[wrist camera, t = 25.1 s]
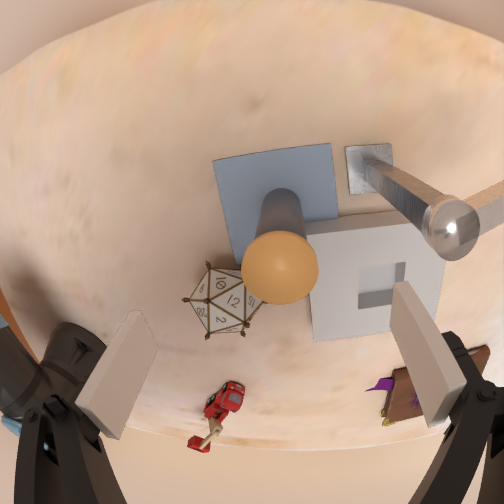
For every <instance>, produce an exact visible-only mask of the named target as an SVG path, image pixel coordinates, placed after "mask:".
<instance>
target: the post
mask: <svg viewBox="0 0 504 504" xmlns="http://www.w3.org/2000/svg"><path fill="white" fill-rule="evenodd" d="M345 155H346V164H347V173H348V184H349V193H350V195H353V194H362V193H373V192H378V193H379V194H381V195H382V196H383V197H384V198H385V199H386V200H387V201H388V202H390V203H391V204H392V205H393V206H394V207H395V208H396V209H397V210H398V211H399V212H400V213H402V214H403V215H404V216H405V217H406V218H407V219H408V220H409V221H410V222H411V223H412V224H413V225H414V226H415V227H416V228H417V229H418V230H419V231H420V232H421V233H422V228H421V225H422V218H423V215H424V213H425V211H426V209H427V207H428V206H429V204H430V203H431V202H432V201H433V200H435V199H436V198H438V197H439V196H442V195H444V194H443V193H441V192H439V191H438V190H436V189H434V188H433V187H431V186H429V185H427V184H426V183H424V182H422V181H420V180H419V179H417V178H415V177H413V176H411V175H409V174H408V173H406V172H404V171H402V170H400V169H398V168H396V167H394V166H393V158H392V146H391V144H374V145H359V146H347V147H345Z"/></svg>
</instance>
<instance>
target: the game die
mask: <svg viewBox="0 0 504 504" xmlns="http://www.w3.org/2000/svg"><path fill="white" fill-rule="evenodd" d="M206 266H207V268H208V271H207V272H206V274H205V275H204V277H203V278H202V280H201V281H200V283H199V284H198V286H197V288H196V289H195V291H194V292H193V294H192V295H191V297H190V298H183V299H182V301H184V302H190V304H191V305H192V307H193V309H194V310H195V312H196V314H197V315H198V317H199V319H200V320H201V322H202V324H203V325H204V327H205V328H206V330H207V332H208V333H207V334H206V335H205V340H207V339H209V337H210V334H213V333H230V332H241V333H240V334H241V336H243V337H245V335H246V334H245V332H244V331H243V330H244V328H245V327H246V328H250V327H249V326H250V323H249V321H250V320H251V319H252V317H253V316H254V314H255V313H256V312H257V310H258V309H259V307H260V306H261V305H262V303H265V304H266V303H267V302H264V301H262V300H260V299H258V298H256V297H255V296H254V295H252V294H251V293H250V292H249V290H248V289H247V288H246V286H245V285H244V282H243V280H242V276H241V270H232V269H221V268H211V265H210V263H209V262H207V261H206ZM267 304H268V303H267Z"/></svg>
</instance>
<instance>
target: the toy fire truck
mask: <svg viewBox="0 0 504 504" xmlns="http://www.w3.org/2000/svg"><path fill="white" fill-rule="evenodd" d="M244 393H245V389H244V388H243V387H242V386H240V385H238V384H236V383H232V382H229V383H228V384H227V383H225V384H224V386H223V389H222V390H220V391H219V392H218V393H217V394H216V395H215V394H214V395H213V396H212V398H209V399H208V402H207V403H206V405H205V408H204V413H205V417H206V418H209V419H208V421H209V427H210V434H209V435H208V436H207V437H206V438H205V439H203V438H200V437H198V436H195V435H194V436H193V437H191V438H190V439H189V440H188V445H187V447H189V448H191V449H194V450H197V451H199V452H202V453H206V452H209V451H210V442H211V440H212V439H213V438H214V437H215V436H219V434H220V432H221V431H222V429H223V427H222V425H221V422H222V421H223V420H224V419H225V417H226V416H227V415H228V413H229V410H230V411H232V412H233V413H234V412H237V411H238V410H239V409H240V407H241V405H242V402H243V399H244Z"/></svg>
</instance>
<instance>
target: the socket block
mask: <svg viewBox="0 0 504 504" xmlns="http://www.w3.org/2000/svg"><path fill="white" fill-rule="evenodd" d="M338 218H339V219H332V220H324V221H316V222H307V223H304V224H305V230H306V236H307V241H308V243H309V244H310V245H311V246H312V248H313V249H314V251H315V254H316V257H317V262H318V268H319V274H318V279H317V282H316V284H315V286H314V288H313V289H312V290H311V292H310V293H309V295H310V306H311V317H312V328H313V339H314V342H323V341H331V340H339V339H347V338H354V337H361V336H367V335H373V334H379V333H385V332H391V328H390V326H389V324H390V316H391V307H392V298H393V287H394V283H396V282H402V281H407V280H408V282H409V283H410V285H411V286H412V288H413V289H414V291H415V293H416V294H417V296H418V297H419V299H420V300H421V302H422V303H423V305H424V306H425V308H426V310H427V311H428V313H429V314H430V316H431V318H432V319H433V321H434V320H435V316H436V311H437V307H438V302H439V297H440V292H441V287H442V281H443V275H444V268H445V262H446V260H444V259H442V258H441V257H440V256H439V255H438V254H437V253H436V252H435V251H434V250H433V249H432V248H431V247H430V246H429V244H428V243H427V242H426V241H425V239H424V237H423V234H422V233H421V232H420V231H419V230H418V229H417V228H416V227H415V226H414V225H413V224H412V223H411V222H410V221H409V220H408V219H407V218H406V217H405V216H404V215H403V214H402V213H400V212H399V211H398V210H396V211H386V212H377V213H368V214H359V215H350V216H341V217H338Z"/></svg>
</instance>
